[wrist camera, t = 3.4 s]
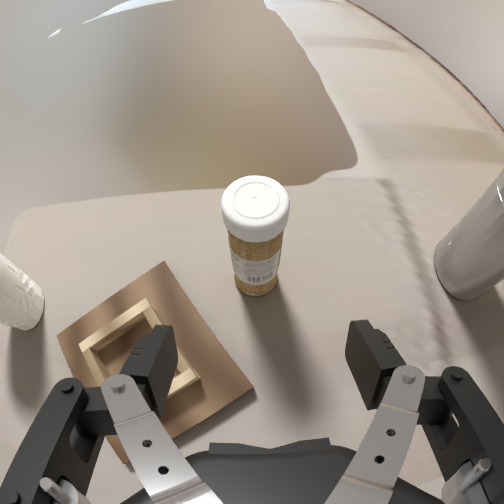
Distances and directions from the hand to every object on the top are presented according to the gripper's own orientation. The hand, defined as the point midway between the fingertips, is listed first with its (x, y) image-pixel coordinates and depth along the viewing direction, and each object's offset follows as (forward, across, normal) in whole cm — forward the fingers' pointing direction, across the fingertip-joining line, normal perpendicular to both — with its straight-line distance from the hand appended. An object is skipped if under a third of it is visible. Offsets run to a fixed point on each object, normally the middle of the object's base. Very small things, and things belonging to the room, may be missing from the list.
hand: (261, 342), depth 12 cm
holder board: (+11, +12, +11) cm, 19 cm away
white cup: (+15, +30, +8) cm, 34 cm away
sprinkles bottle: (+18, 0, +4) cm, 18 cm away
